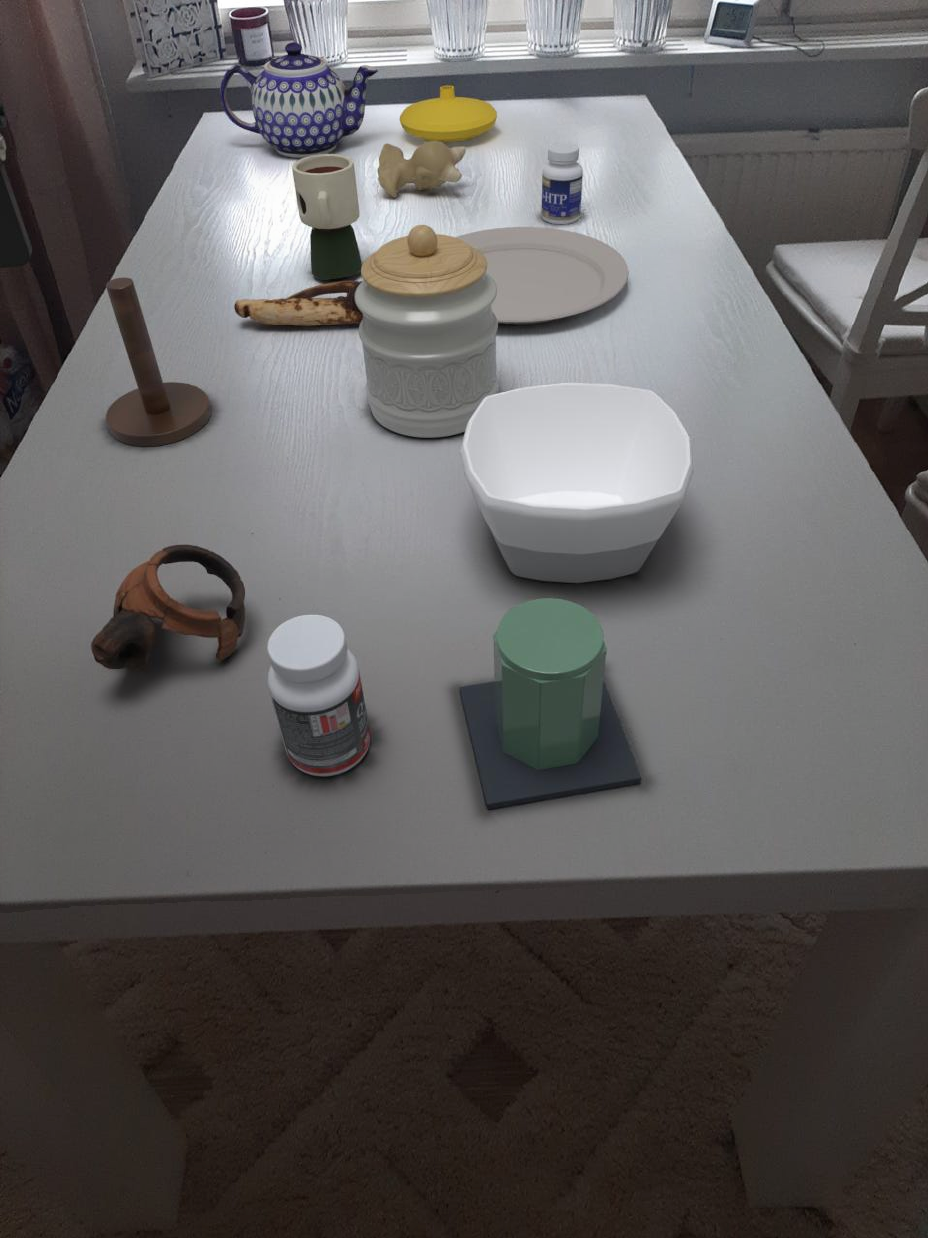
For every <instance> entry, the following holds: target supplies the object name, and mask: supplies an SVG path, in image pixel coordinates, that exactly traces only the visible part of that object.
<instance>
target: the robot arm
mask: <svg viewBox="0 0 928 1238" xmlns="http://www.w3.org/2000/svg"><path fill="white" fill-rule="evenodd" d="M7 117H8V112H7V107H6V105H5V103H4V102H3V100H2V98H1V97H0V129H1V128H7ZM6 150H7V144H6V140H5V138H4V136H3V135H2V134H1V133H0V162H3V161H6V158H7V155H6ZM32 253H33V247H32V244H31V241H30V237H29V235H28V232H27V229H26V227H25V223H24V220H23V217H22V214H21V212H20V208H19V206H18V203H17V200H16V197H15V194H14V191H13V187H12V185H11V182H10V180H9V177H8V174H7V171H6V168H5V165H4V163H0V269H4V268H5V269H7V268H15V267H23V266H26V265H27V264H28V263H29V261H30V259H31V256H32ZM1 355H2V351H1V350H0V356H1Z"/></svg>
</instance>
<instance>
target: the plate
mask: <svg viewBox="0 0 928 1238" xmlns="http://www.w3.org/2000/svg"><path fill="white" fill-rule="evenodd" d="M454 237H455V238H458V239H460V240H462V241H464V242H465V243H467V244H468V245H469V246H471V247H473V248H475V249H477V250H478V251H480V252H481V253H482V254H483V255H484V256H485V258H486V260H487V270H486V273H487V274H489V275H490V276H491V277H492V278H493V280H494V281H495V283H496V286H497V295H496V298H495V300H494V302H493V303H492V304H491V306H492V311H493V313H494V314H495V316H496V318H497V321H498V325H517V326H518V325H532V324H533V325H534V324H541V323H547V322H553V321H558V320H561V319H565V318H567V317H570V316H575V315H578V314H581V313H584V312H588V311H590V310H593V309H595V308H598V307H600V306H602V305H603V304H605V303H607V302H608V301H610V300H611V299H613V298H615V297H616V296H617V295H618V294H619V293H620V292H621V291H622V290H623V289H624V287H625V286H626V284H627V281H628V279H629V267H628V264H627V262H626V259H625V258H624V257H623V256H622V254H621V253H620V252H618V250H616V249H615V248H614V247H612V246H611V245H609V244H607V243H606V242H603V241H602V240H599V239H597V238H595V237H592V236H589V235H586V234H582V233H579V232H576V231H570V230H567V229H559V228H551V227H541V226H508V227H499V228H498V227H497V228H490V229H483V230H477V231H473V232H469V233H465V234H462V235H458V236H454Z"/></svg>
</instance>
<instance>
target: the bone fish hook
mask: <svg viewBox="0 0 928 1238" xmlns="http://www.w3.org/2000/svg"><path fill="white" fill-rule="evenodd" d="M362 281H363V280H360V281H359V280H341V281H333V282H328V283H322V284H318V285H314V286H310V287H307V288H305V289H302V290H300V291H298V292H296V293H294V294H292V295H290V296H288V297H287V298H275V299H274V298H273V299H267V298H261V299H260V298H257V299H245V298H244V299H237V300H236V301H235V303H234V305H233V308H234V313H235V314H236V315H238V316H239V317H241V318H242V319H246V318H250V320H252V321H253V322H255V323H260V324H264V325H269V326H270V325H274V326H275V325H277V326H278V325H279V326H284V325H287V326H289V325H291V326H295V327H297V326H299V327H301V326H304V327H306V326H308V327H315V326H325V325H327V326H339V325H352V324H353V325H354V324H359V325H360V323H361V321H362V320H363V313H362V312H361V311H360V310H359V308H358V307H357V305H356V303H355V292H356V289H357V287H358V286H359V284H360V283H361V282H362ZM333 294H335V295H336V294H346V296H344V295H340V296H337V297H328V298H327V297H326V298H321V297H319V296H324V295H333ZM316 297H317V298H316Z"/></svg>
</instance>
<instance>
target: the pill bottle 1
mask: <svg viewBox="0 0 928 1238" xmlns="http://www.w3.org/2000/svg"><path fill="white" fill-rule="evenodd" d="M266 647H267V654H268V659H269V662H270V666H269V670H268V673H267V686H268V690H269V692H268V693H269V696H270V699H271V702H272V706H273V709H274V712H275V716H276V720H277V724H278V728H279V732H280V734H281V738H282V743H283V745H284V748H285V752H286V755H287V757H288V759H289V761H290V762H291V764H292V765H293V766H294V767H295V768H296V769H298V770H299V771H301V772H303V773H305V774H307V775H310V776H314V777H331V776H336V775H341V774H343V773H345V772H347V771H349V770H351V769H352V768H354V767H355V766H356V765H358V764H359V763H360V762H361V761H362V760H363V758H364V757H365V755H366V754H367V752H368V750H369V748H370V743H371V729H370V723H369V722H370V721H369V718H368V711H367V706H366V702H365V696H364V690H363V685H362V678H361V673H360V667H359V663H358V661H357V660H356V657H355V656H354V654H353V653H352V652H351V651H350V650H349V649H348V643H347V640H346V634H345V632H344V630H343V628H342V626H341V625H340V624H339V623H338V622H337V621H336V620H334V619H332V618H331V617H328V616H326V615H321V614H302V615H298V616H295V617H292V618H290V619H288V620H286V621H284V622H282V623H281V624H280V625H279V626H277V627H276V628H275V629H274V631H273V632H271V634H270V636H269V638H268V641H267V646H266Z"/></svg>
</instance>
